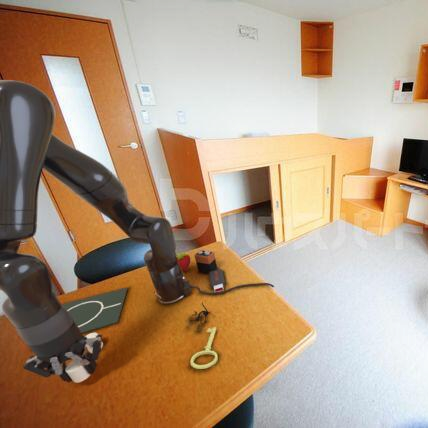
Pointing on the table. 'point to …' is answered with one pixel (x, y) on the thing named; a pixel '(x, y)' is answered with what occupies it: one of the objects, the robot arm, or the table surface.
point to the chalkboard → (97, 310)
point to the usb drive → (217, 280)
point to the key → (206, 352)
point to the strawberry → (183, 261)
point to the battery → (205, 261)
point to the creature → (199, 317)
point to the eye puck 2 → (91, 335)
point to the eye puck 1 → (77, 371)
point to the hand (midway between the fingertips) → (82, 374)
